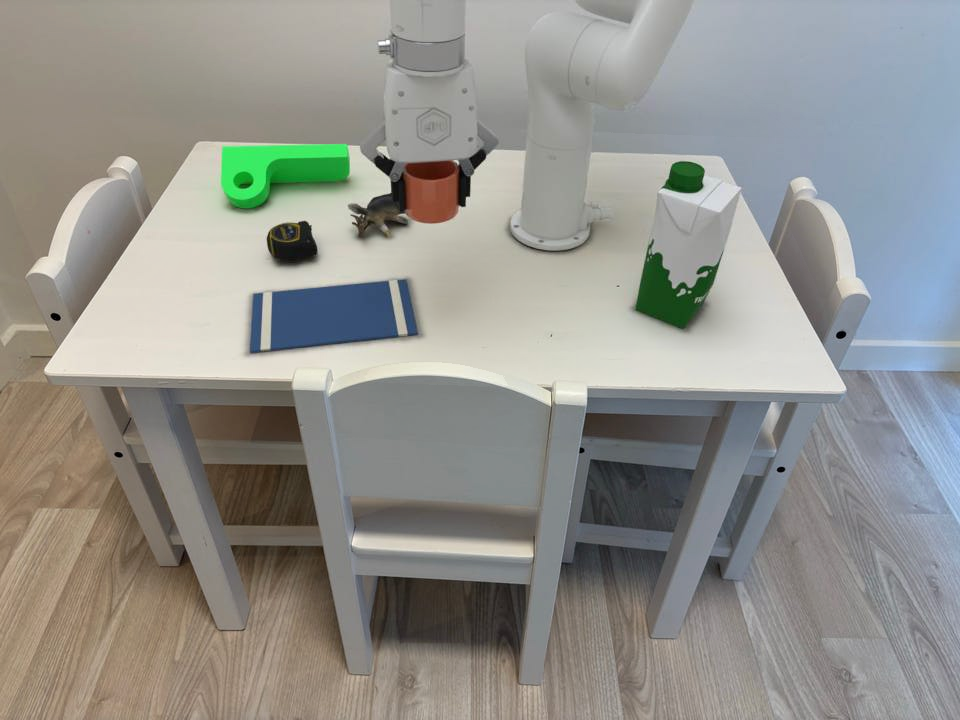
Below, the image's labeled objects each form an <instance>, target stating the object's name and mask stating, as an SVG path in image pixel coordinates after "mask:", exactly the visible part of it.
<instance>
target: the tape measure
mask: <svg viewBox="0 0 960 720" xmlns="http://www.w3.org/2000/svg"><path fill="white" fill-rule="evenodd" d="M312 226H313V225H312V224H310V223H309V221H307V220H301V221H298V222H283V223H279V224H277V225H275V226H273V227H271V228H270V229H269V230H268V232H267V235H266V246H267V250H268V252H269V253H270V254H271V256H272V257H273V258H274V259H276V260H278V261H280V262H285V263H287V262H288V263H296V262H299V261H302V260H303V261H304V260H305V259H310V258H314V257H316V256H317V254H318V246H317V242H316V240H315V238H314V236H313V232H312V231H313V228H312Z"/></svg>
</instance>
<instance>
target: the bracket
mask: <svg viewBox="0 0 960 720" xmlns="http://www.w3.org/2000/svg"><path fill="white" fill-rule="evenodd" d="M350 160H351V159H350V152H349V148H348V143H329V144H327V143H324V144H323V143H320V144H317V143H316V144H280V145H279V144H277V145H273V144H272V145H271V144H270V145H228V146H226V145H224V146H221V167H220V168H221V169H220V171H221V172H220V186H221V187H222V191H223V192H224V194H225V196H226V198H227V200H228V202H230V203H231V204H232V205H233V206H234V207H237V208H240V209H244V210H245V209H253V208H257V207H259V206H261V205H262V204H263V203H264V202H265V201H266V200H267V199H268V197H269V194H270V189H271V188H270V187H271V186H270V185H271V184H280V183H282V184H285V183H286V184H287V183H319V182H320V183H321V182H322V183H323V182H338V181H343V180H344V179H346V178H348V176H350V174H351V165H350V164H351V163H350ZM241 184H242V185H244V184H246V185H247V184H248V185H249V184H251V185H250V186H249V187H246V188H240V186H241Z"/></svg>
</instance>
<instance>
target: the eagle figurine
mask: <svg viewBox="0 0 960 720" xmlns="http://www.w3.org/2000/svg"><path fill="white" fill-rule="evenodd" d="M347 208H348V210H350V211H351V212H352V213H354V214H352V213H351V214H349V215H350V217H353V218H354V220H355V221H356V222H355V221H351V225H352V226H355V227H356V228H357V231H358V233H357V236H358V238H361V237H362V236H363V235H364V234H365V233H366V230H367V229H368V228H369V227H370V226H372V225H373V226H374V227H375V228H377V229H379V230H380V231H382V233H384V234H385V235H386V237H387V238H390V230H389V228H388V227H387V225H386V224H385V222H384V221H392V222H397V223H401V224H405V225H408V224H409V220H408V219H407V218H406V217H403V216H400V215H406V214H405V212H400V211H399V207H398V203H397V202H395V203H393V202H392V196H391V192H390V193H385V194H381V195H378V196H374V197H372V198H371V199H370V201H369V202H368V204H367V206H366V207H363V206H361V205H359V203H355V202H353V203H348V204H347ZM358 215H359V216H358Z"/></svg>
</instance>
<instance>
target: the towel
mask: <svg viewBox="0 0 960 720" xmlns="http://www.w3.org/2000/svg"><path fill="white" fill-rule="evenodd" d="M250 325H251V327H250V342H249V353H250V354H254V353H255V354H256V353H263V352H264V353H265V352H274V351H281V350H291V349H300V348H308V347H309V348H310V347H318V346H327V345H338V344H345V343H354V342H364V341H373V340H383V339H392V338H400V337H410V336H417V335H419V333H418V328H417V322H416V317H415V313H414V309H413V303H412V299H411V293H410V290H409V284H408V281H407V279H406V278H402V279H391V280H383V281H382V280H381V281H372V282H362V283H360V282H359V283H350V284H340V285H330V286H329V285H328V286H320V287H319V286H318V287H309V288H297V289H288V290H279V291H278V290H277V291H266V292H265V291H264V292H258V293H257V292H255V293H253V295H252V309H251V324H250Z"/></svg>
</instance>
